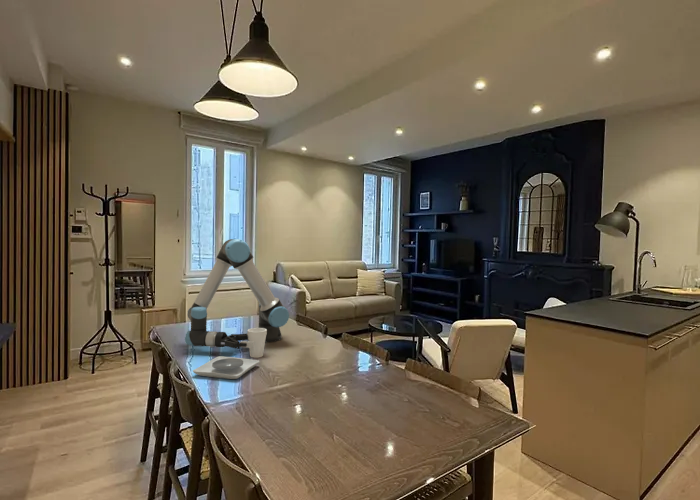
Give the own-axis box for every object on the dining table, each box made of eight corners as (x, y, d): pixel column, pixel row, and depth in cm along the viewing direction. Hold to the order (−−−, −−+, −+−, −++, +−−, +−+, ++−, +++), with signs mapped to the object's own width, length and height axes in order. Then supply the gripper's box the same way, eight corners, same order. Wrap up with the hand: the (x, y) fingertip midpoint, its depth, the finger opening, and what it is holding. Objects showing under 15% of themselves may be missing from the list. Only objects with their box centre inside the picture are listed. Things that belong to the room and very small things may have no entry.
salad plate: (237, 383, 156) (238, 375, 155) (191, 378, 160) (191, 370, 160) (260, 367, 176) (260, 359, 176) (218, 362, 181) (218, 355, 180)
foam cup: (268, 353, 196) (269, 328, 196) (262, 359, 187) (263, 332, 187) (250, 352, 197) (251, 327, 197) (244, 357, 188) (244, 331, 188)
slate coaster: (238, 358, 177) (238, 356, 177) (247, 366, 166) (247, 364, 166) (209, 362, 170) (209, 361, 170) (216, 371, 159) (216, 369, 159)
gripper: (226, 340, 206) (265, 342, 204) (205, 353, 181) (249, 356, 179) (227, 326, 205) (265, 328, 204) (205, 338, 181) (249, 340, 179)
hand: (258, 341), depth 191 cm, fingers open, 13 cm apart
